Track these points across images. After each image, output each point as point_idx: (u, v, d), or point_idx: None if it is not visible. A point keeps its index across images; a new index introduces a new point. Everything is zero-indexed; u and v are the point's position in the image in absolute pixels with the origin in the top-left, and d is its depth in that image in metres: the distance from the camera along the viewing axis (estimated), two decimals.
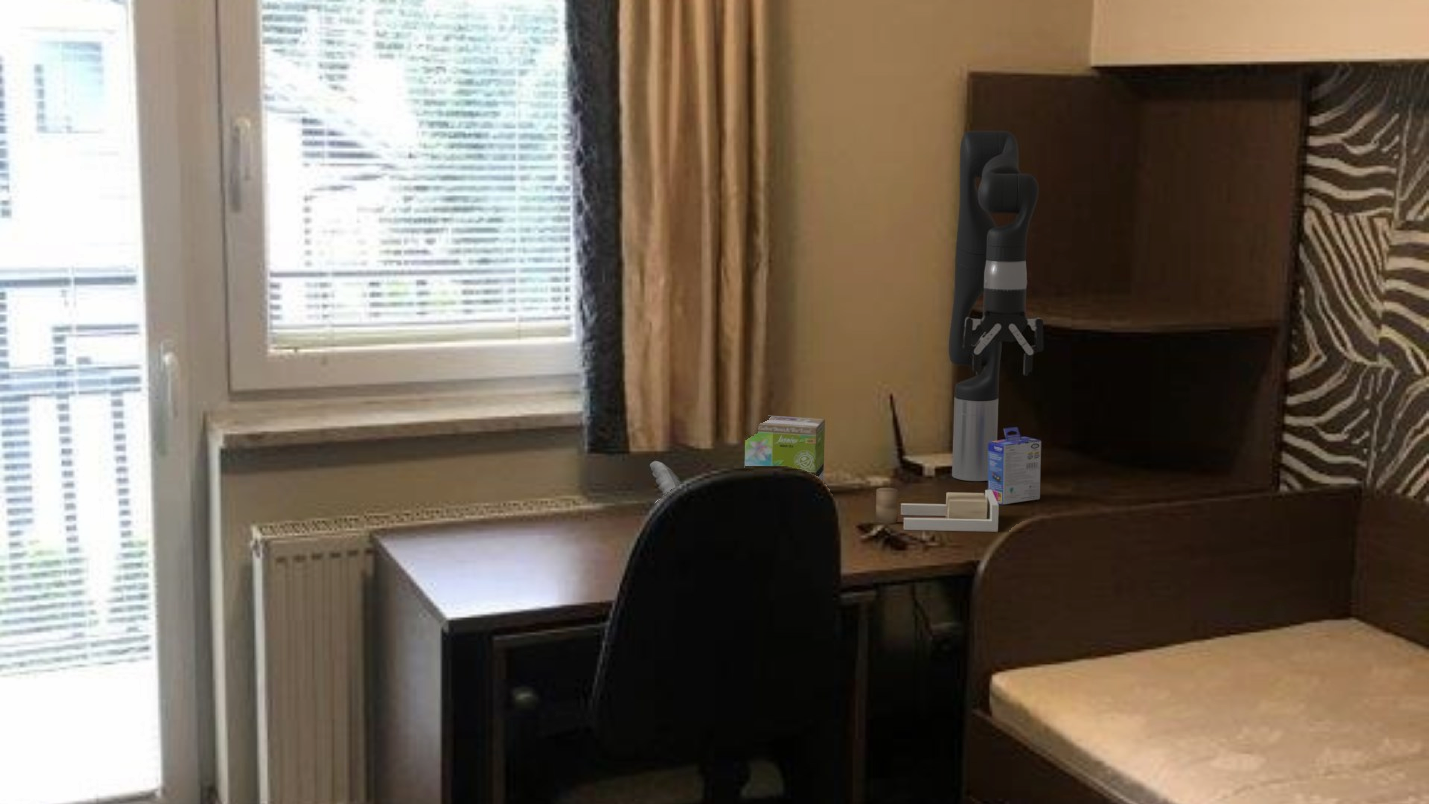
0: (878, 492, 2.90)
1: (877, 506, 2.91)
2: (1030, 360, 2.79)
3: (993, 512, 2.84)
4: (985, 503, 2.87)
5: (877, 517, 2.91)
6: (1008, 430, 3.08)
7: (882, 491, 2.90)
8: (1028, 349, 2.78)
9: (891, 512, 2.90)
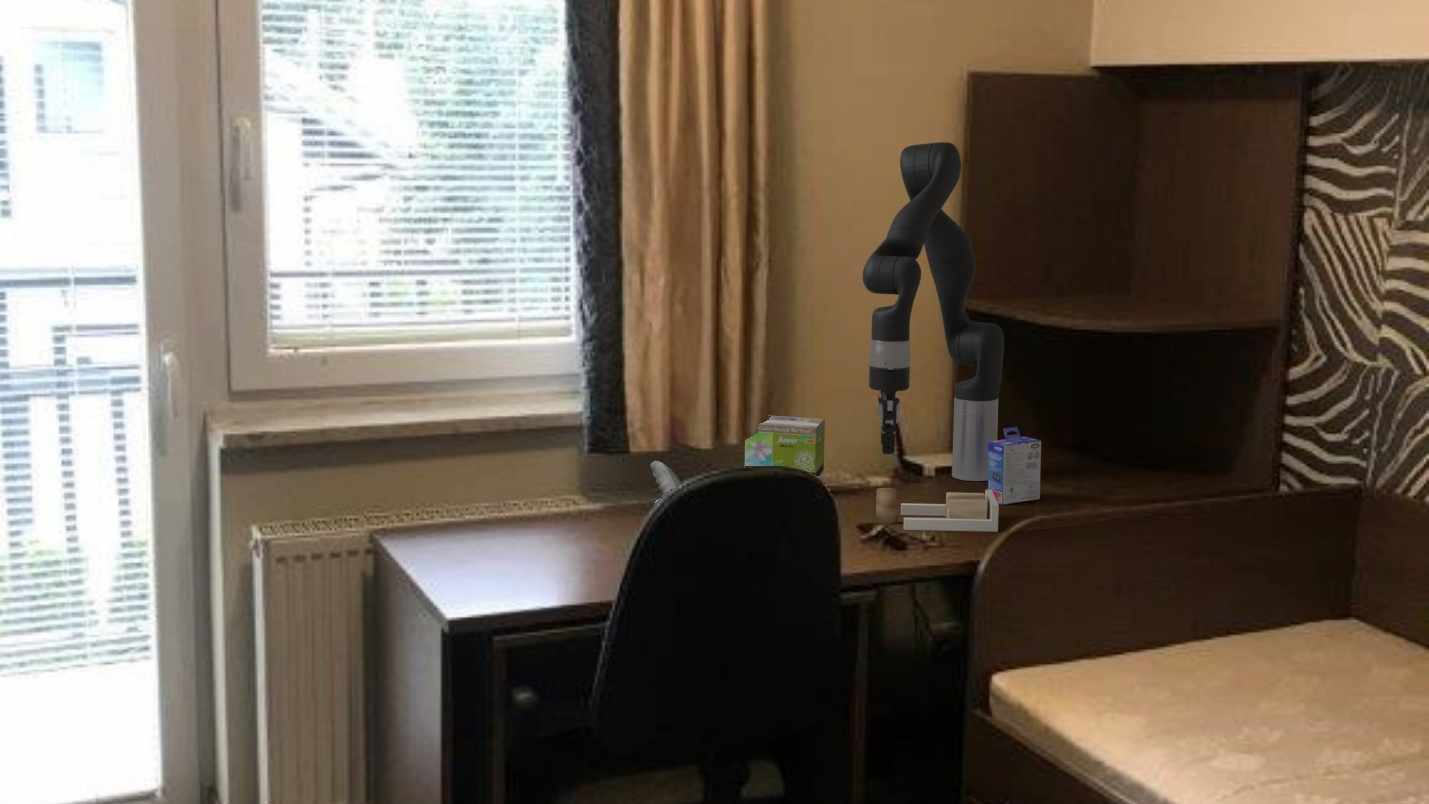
0: (878, 492, 2.90)
1: (877, 506, 2.91)
2: None
3: (993, 512, 2.84)
4: (985, 503, 2.87)
5: (877, 517, 2.91)
6: (1008, 430, 3.08)
7: (882, 491, 2.90)
8: None
9: (891, 512, 2.90)
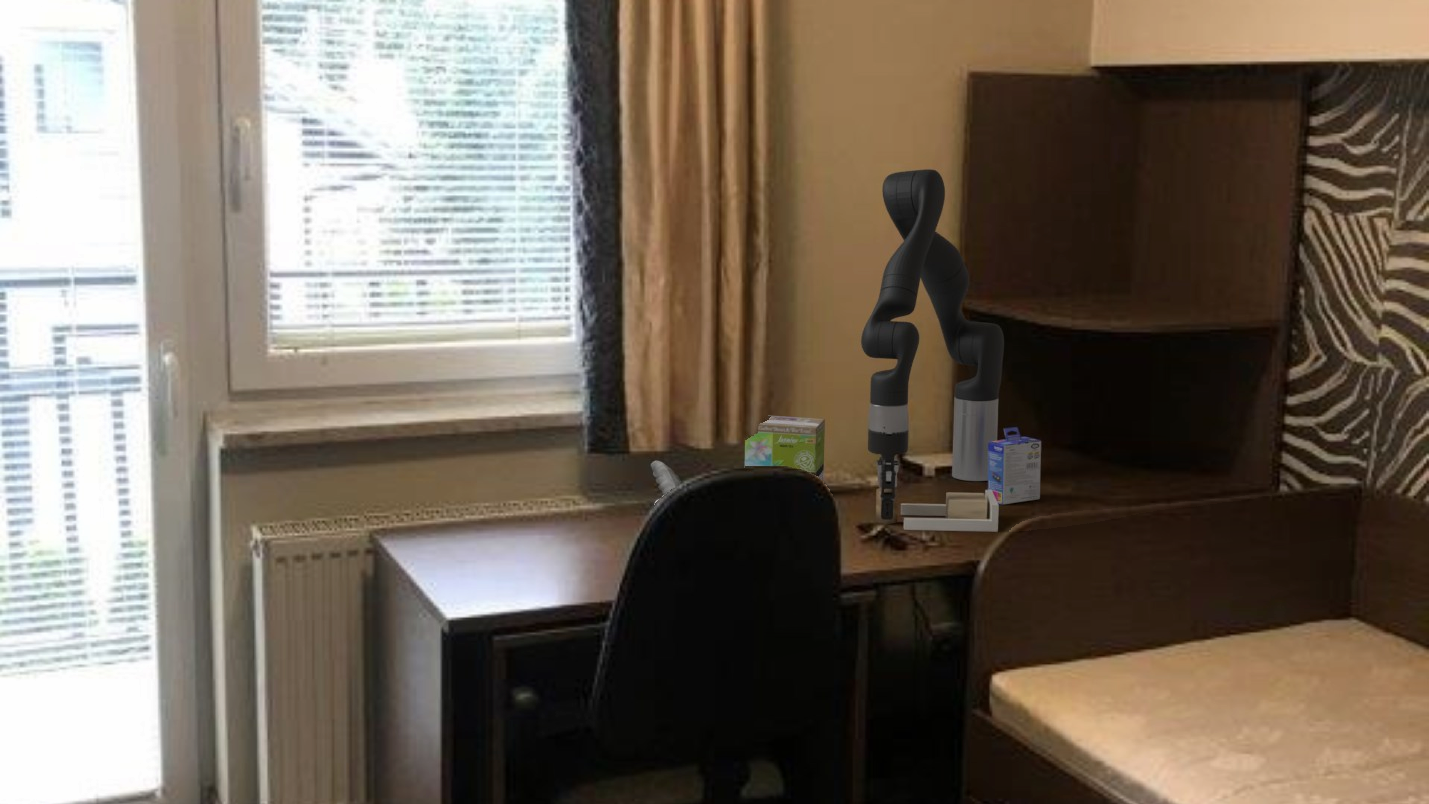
0: (878, 492, 2.90)
1: (877, 506, 2.91)
2: None
3: (993, 512, 2.84)
4: (985, 503, 2.87)
5: (877, 517, 2.91)
6: (1008, 430, 3.08)
7: None
8: None
9: None
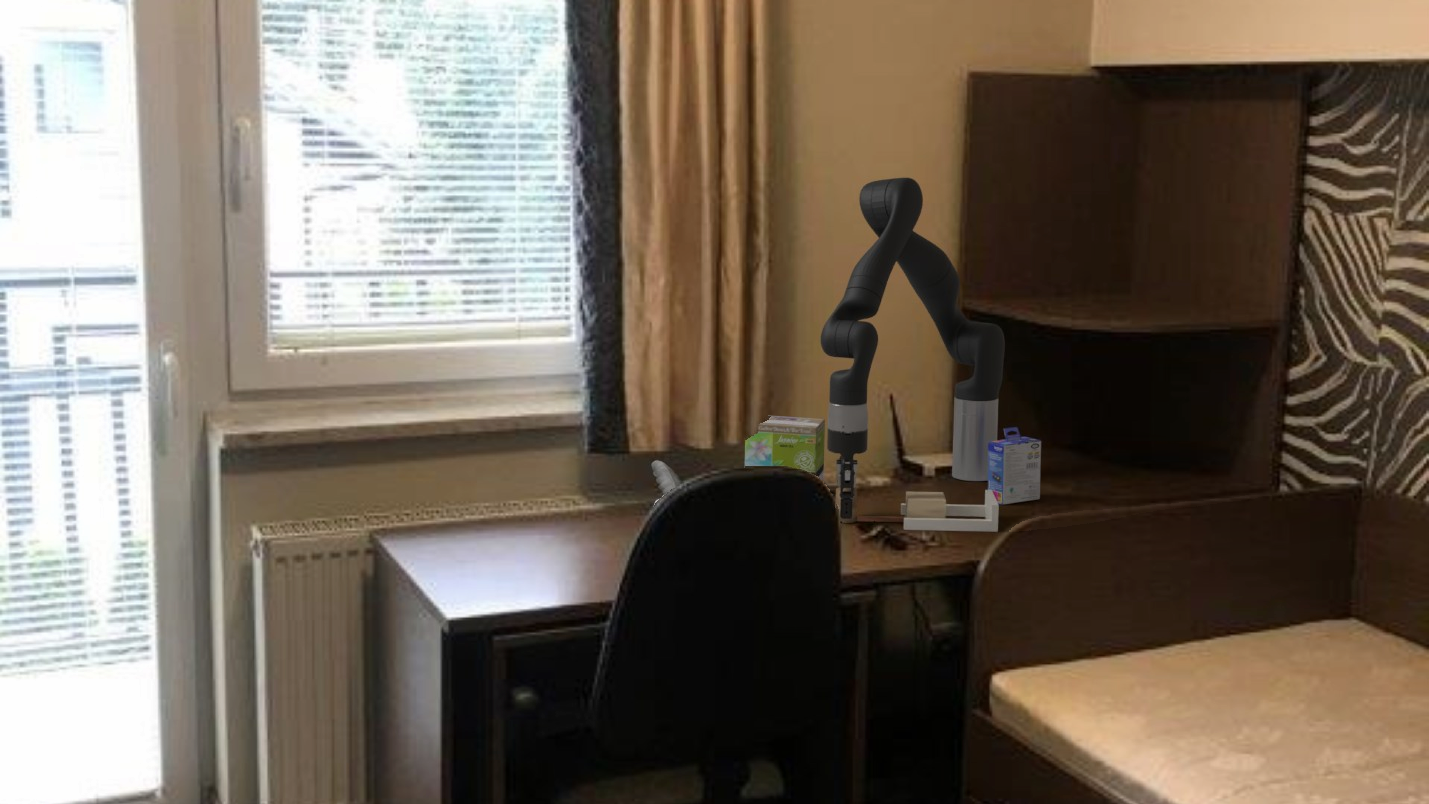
0: (837, 491, 2.90)
1: None
2: None
3: (993, 512, 2.84)
4: (944, 502, 2.87)
5: None
6: (1008, 430, 3.08)
7: None
8: None
9: None
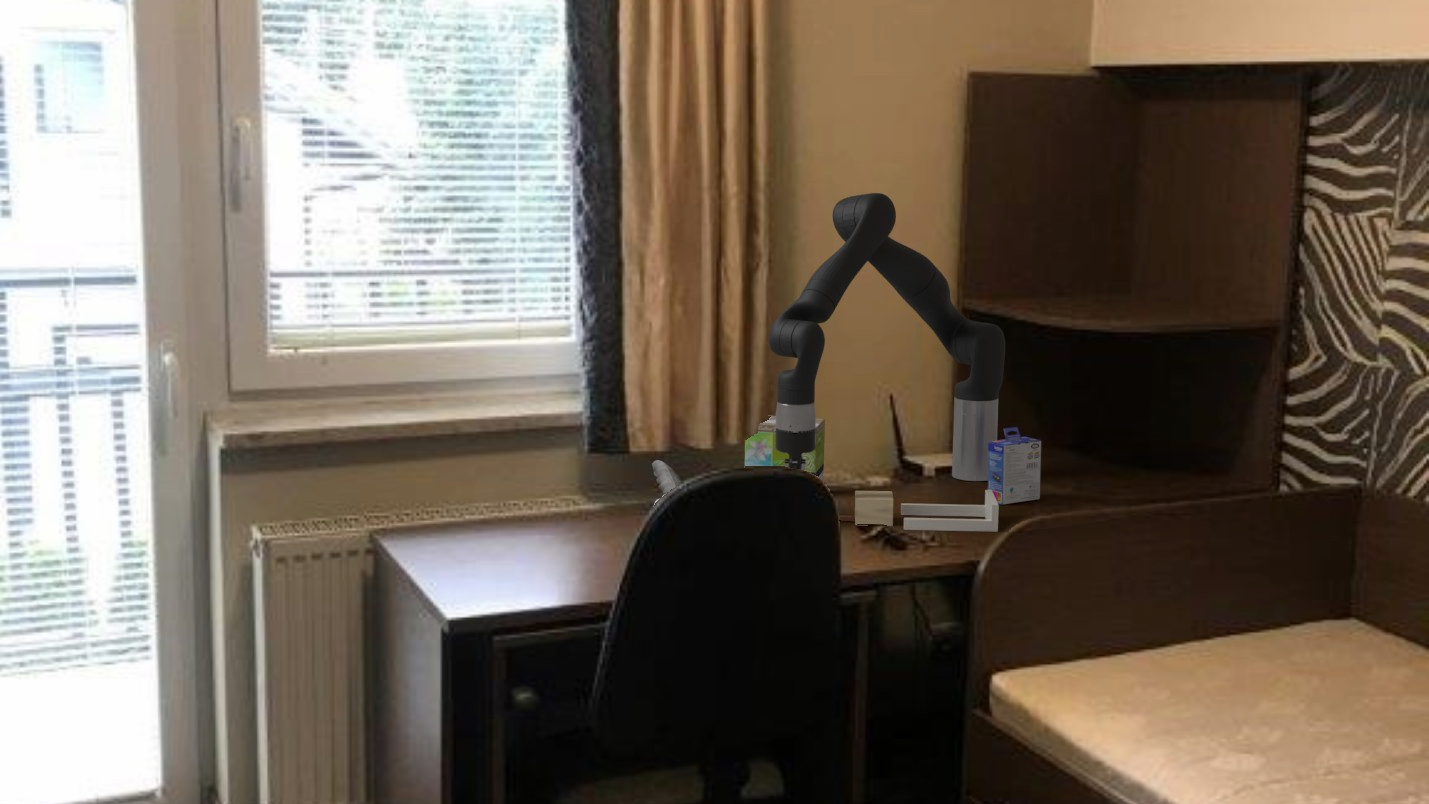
0: None
1: None
2: None
3: (993, 512, 2.84)
4: (891, 501, 2.88)
5: None
6: (1008, 430, 3.08)
7: None
8: None
9: None
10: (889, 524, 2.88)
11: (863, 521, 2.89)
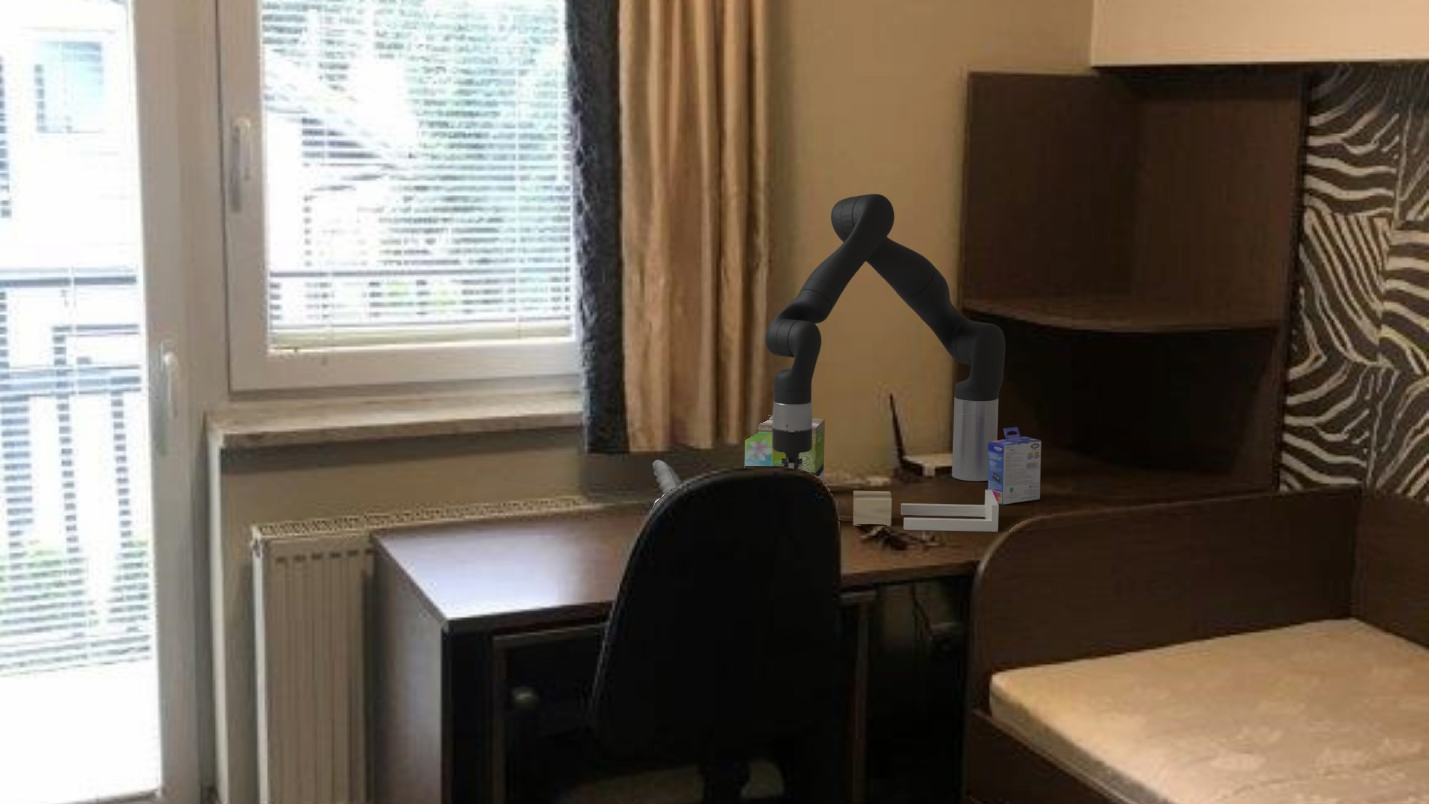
0: None
1: None
2: None
3: (993, 512, 2.84)
4: (889, 501, 2.88)
5: None
6: (1008, 430, 3.08)
7: None
8: None
9: None
10: (887, 524, 2.88)
11: (861, 521, 2.89)
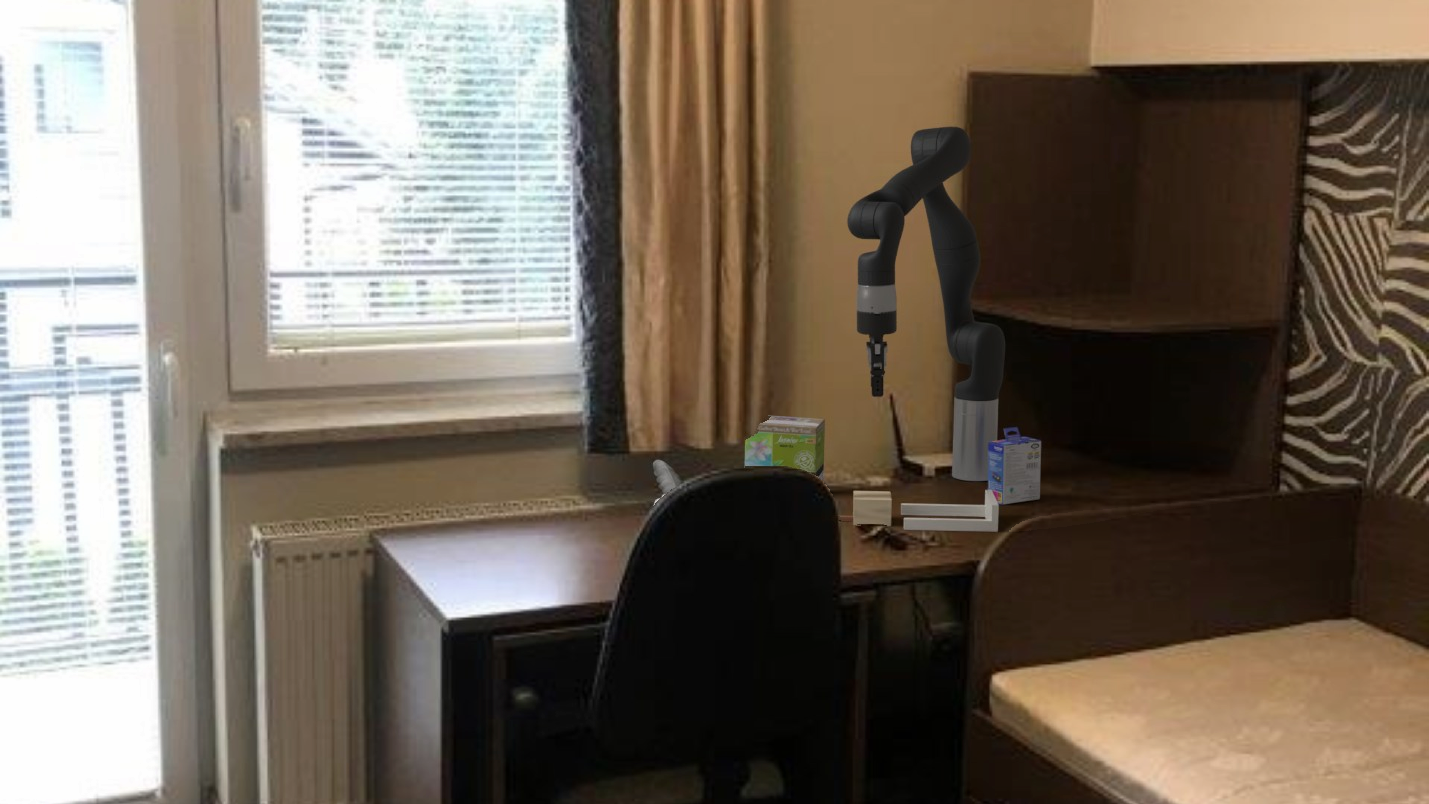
0: None
1: None
2: None
3: (993, 512, 2.84)
4: (889, 501, 2.88)
5: None
6: (1008, 430, 3.08)
7: None
8: None
9: None
10: (887, 524, 2.88)
11: (861, 521, 2.89)
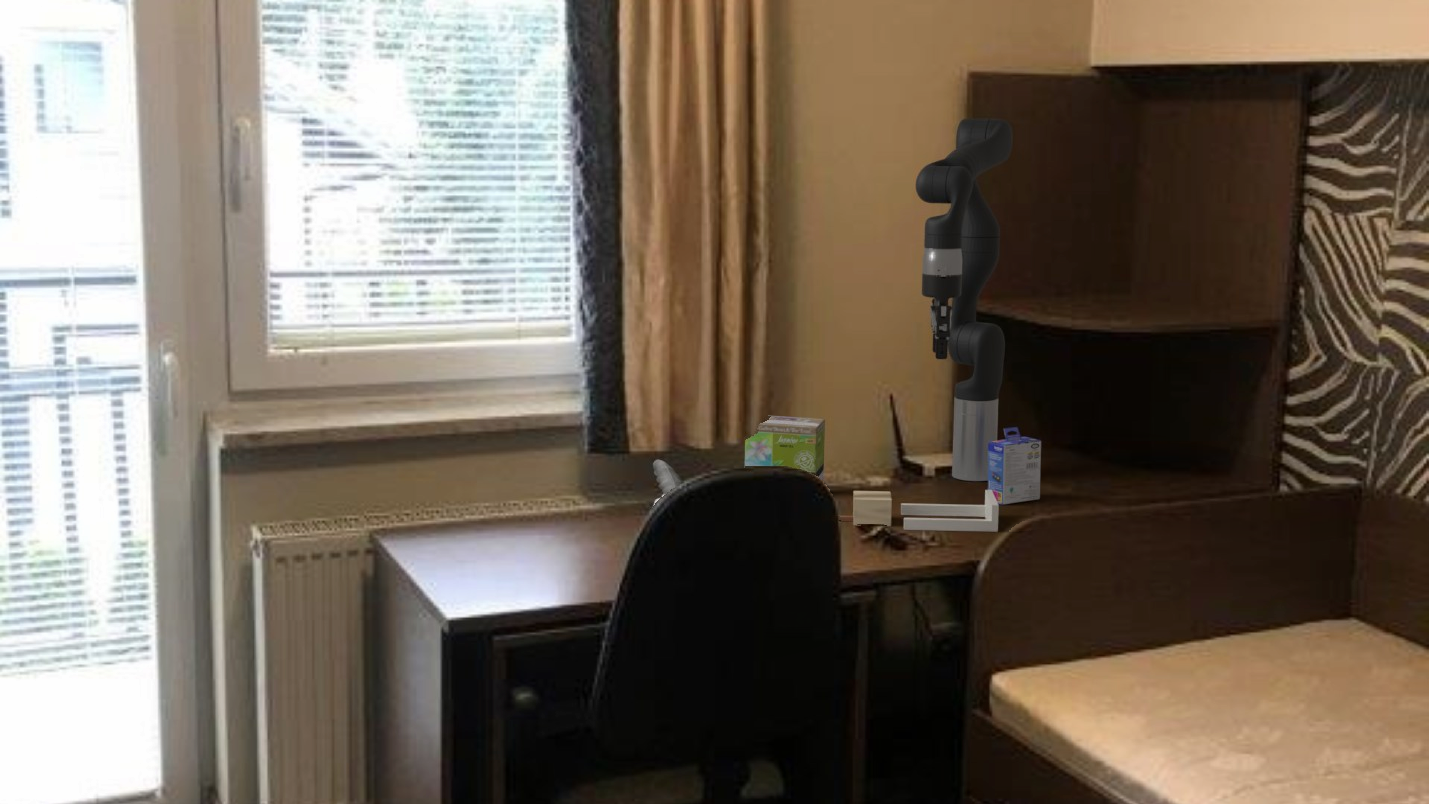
0: None
1: None
2: None
3: (993, 512, 2.84)
4: (889, 501, 2.88)
5: None
6: (1008, 430, 3.08)
7: None
8: None
9: None
10: (887, 524, 2.88)
11: (861, 521, 2.89)
